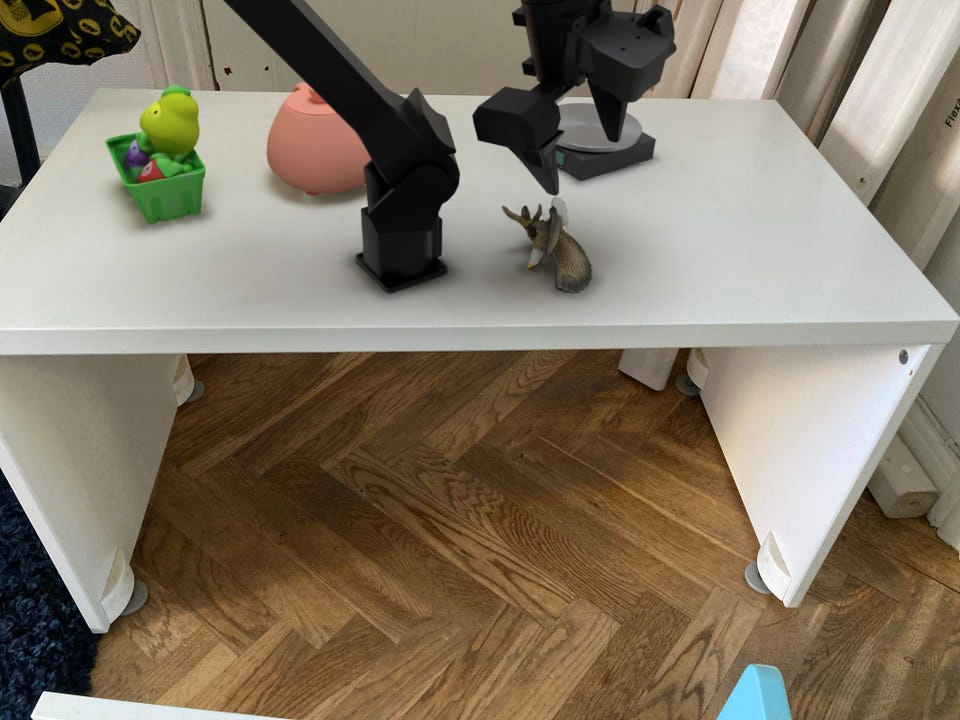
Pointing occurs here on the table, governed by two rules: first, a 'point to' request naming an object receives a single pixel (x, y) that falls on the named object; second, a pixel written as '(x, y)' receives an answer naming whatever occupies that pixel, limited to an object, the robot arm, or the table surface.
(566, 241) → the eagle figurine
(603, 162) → the scale
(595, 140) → the scale pan
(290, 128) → the sugar bowl
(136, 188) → the fruit basket
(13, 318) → the table surface
